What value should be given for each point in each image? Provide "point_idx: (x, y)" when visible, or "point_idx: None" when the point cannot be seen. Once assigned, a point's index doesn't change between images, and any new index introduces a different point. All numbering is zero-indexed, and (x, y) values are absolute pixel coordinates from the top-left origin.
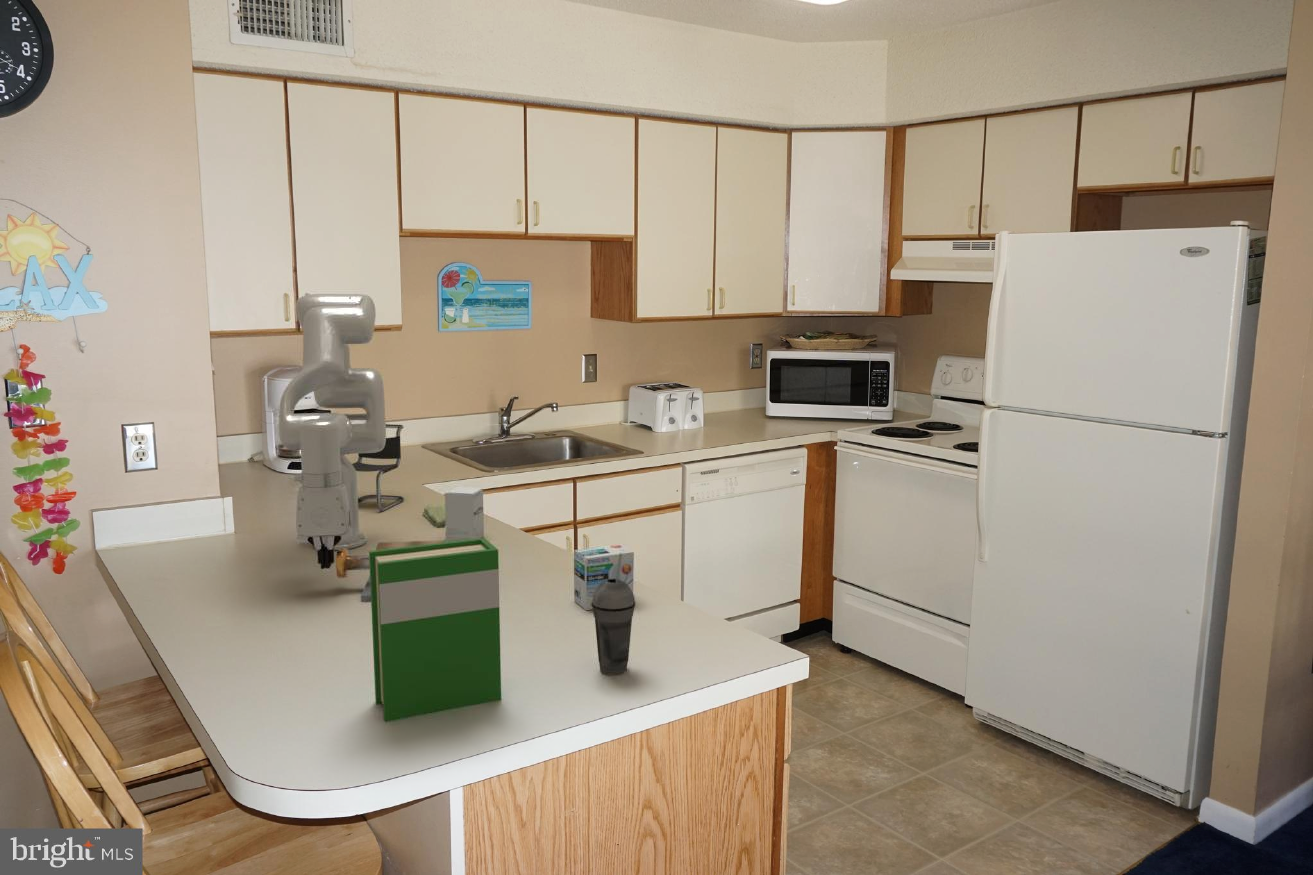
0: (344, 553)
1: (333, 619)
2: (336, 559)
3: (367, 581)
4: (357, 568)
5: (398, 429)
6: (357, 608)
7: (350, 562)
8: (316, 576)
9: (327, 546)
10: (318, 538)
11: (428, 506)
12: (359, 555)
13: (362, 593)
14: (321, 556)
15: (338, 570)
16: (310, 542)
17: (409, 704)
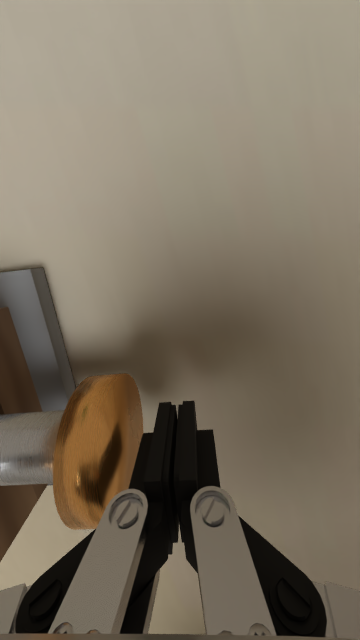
0: (54, 462)
1: (62, 55)
2: (102, 418)
3: None
4: (50, 411)
5: None
6: (27, 194)
7: (58, 426)
8: (246, 482)
9: (143, 513)
10: (212, 609)
11: None
12: (17, 476)
13: (35, 292)
14: (188, 444)
15: (110, 377)
16: (283, 564)
17: None
